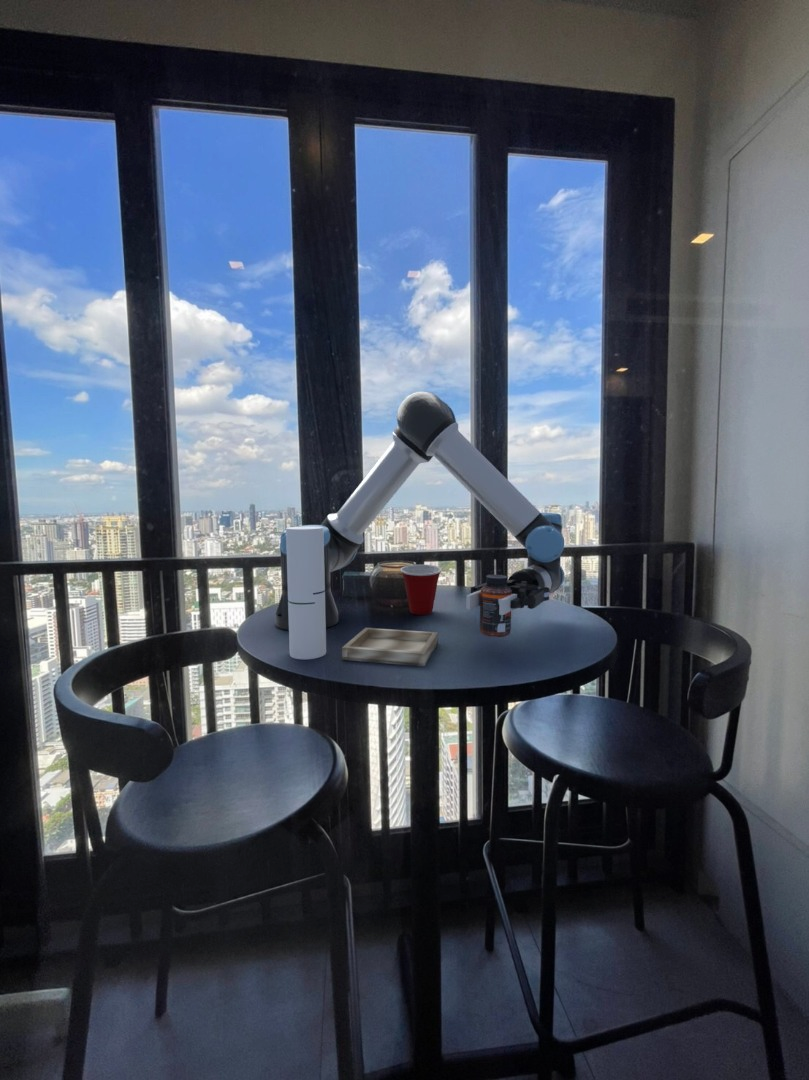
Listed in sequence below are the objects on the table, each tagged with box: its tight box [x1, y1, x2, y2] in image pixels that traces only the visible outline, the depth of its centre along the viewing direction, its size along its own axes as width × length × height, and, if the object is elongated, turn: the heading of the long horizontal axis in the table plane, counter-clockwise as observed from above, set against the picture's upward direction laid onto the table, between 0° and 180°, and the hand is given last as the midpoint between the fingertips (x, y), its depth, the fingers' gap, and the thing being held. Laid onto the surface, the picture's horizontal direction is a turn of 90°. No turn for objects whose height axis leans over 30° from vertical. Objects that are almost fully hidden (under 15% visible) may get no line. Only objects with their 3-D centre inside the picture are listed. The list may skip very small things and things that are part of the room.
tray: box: [341, 627, 439, 667], centre depth 99 cm, size 16×14×2 cm
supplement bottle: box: [479, 574, 512, 638], centre depth 95 cm, size 6×6×11 cm
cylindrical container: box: [285, 526, 327, 660], centre depth 97 cm, size 7×7×25 cm
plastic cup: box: [400, 564, 442, 616], centre depth 130 cm, size 11×11×12 cm
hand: (484, 604), depth 91 cm, fingers closed on supplement bottle, 6 cm apart
